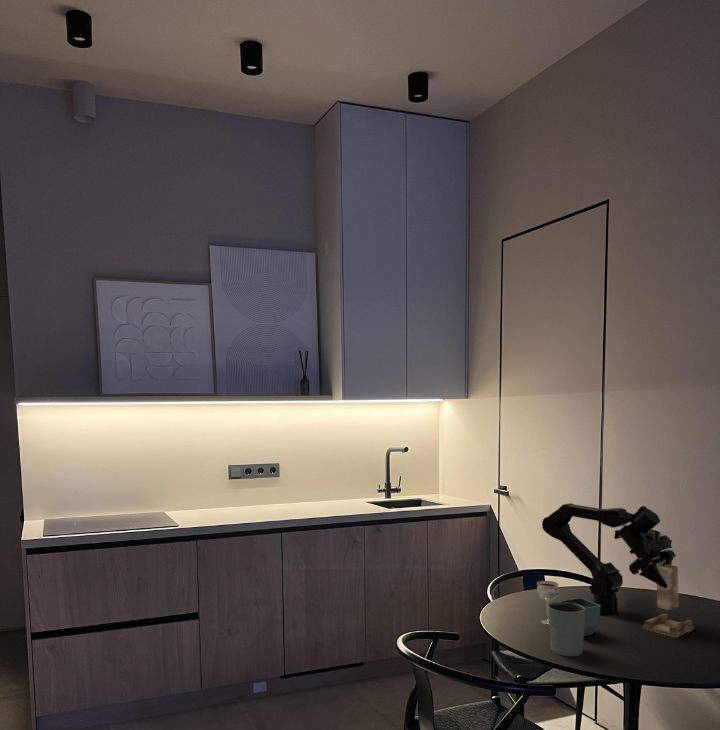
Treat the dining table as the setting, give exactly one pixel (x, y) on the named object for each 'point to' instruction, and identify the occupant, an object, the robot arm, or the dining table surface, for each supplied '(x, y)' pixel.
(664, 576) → the wooden block
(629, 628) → the dining table surface
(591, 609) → the flower pot
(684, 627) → the wooden tray
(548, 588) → the wineglass
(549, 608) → the green cup
